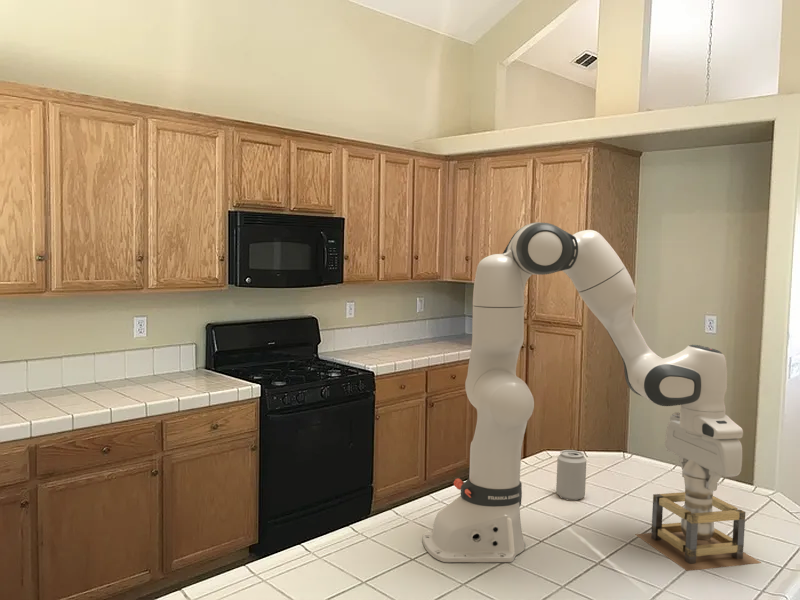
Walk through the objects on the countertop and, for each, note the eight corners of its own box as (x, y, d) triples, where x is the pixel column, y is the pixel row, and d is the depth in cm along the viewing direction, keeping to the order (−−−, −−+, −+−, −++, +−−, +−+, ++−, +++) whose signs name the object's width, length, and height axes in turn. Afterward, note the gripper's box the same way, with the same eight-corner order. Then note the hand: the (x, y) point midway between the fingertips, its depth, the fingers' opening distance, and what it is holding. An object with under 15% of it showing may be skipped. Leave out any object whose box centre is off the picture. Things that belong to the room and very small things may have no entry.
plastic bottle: (717, 545, 141) (722, 452, 140) (683, 542, 142) (688, 449, 141) (708, 534, 147) (714, 444, 147) (676, 531, 149) (681, 442, 148)
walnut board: (686, 576, 134) (687, 570, 134) (634, 539, 152) (634, 534, 152) (761, 568, 139) (761, 562, 139) (702, 533, 156) (702, 528, 156)
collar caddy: (689, 564, 137) (692, 516, 137) (651, 537, 150) (653, 494, 149) (742, 558, 141) (745, 512, 140) (700, 533, 153) (703, 490, 152)
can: (588, 495, 180) (590, 451, 179) (579, 503, 174) (581, 458, 173) (561, 489, 184) (563, 446, 183) (552, 497, 178) (553, 453, 177)
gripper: (659, 410, 153) (656, 469, 154) (722, 433, 133) (719, 501, 134) (683, 409, 154) (680, 468, 155) (749, 432, 134) (745, 499, 135)
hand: (699, 483), depth 144 cm, fingers closed on plastic bottle, 6 cm apart
